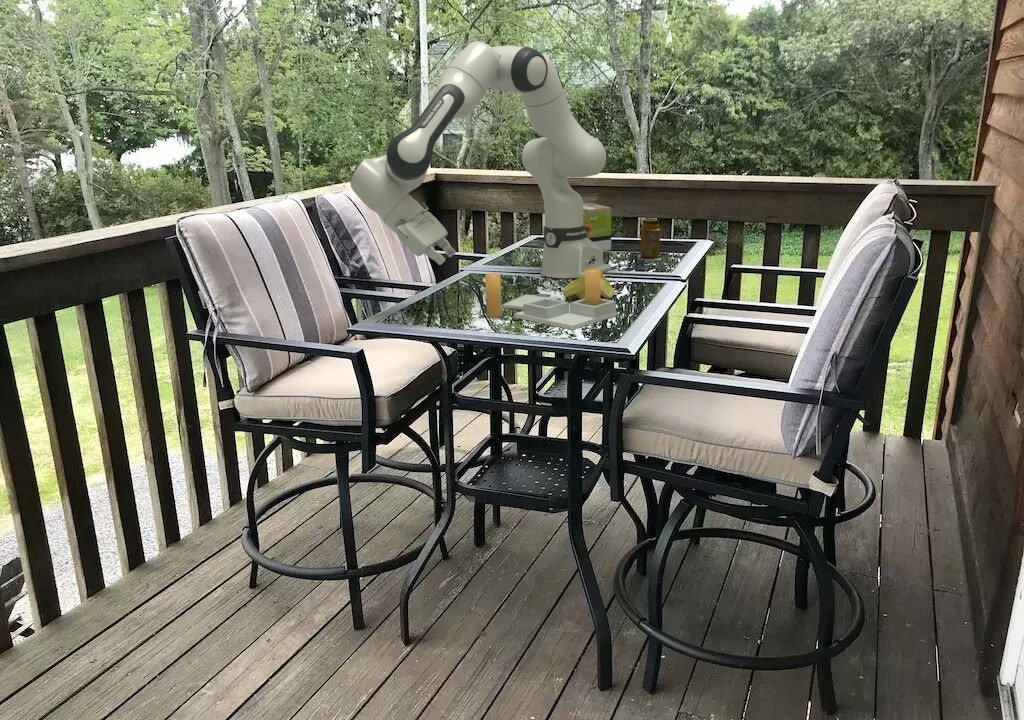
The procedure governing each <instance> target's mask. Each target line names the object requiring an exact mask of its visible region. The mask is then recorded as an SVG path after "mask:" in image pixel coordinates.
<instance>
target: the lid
mask: <svg viewBox="0 0 1024 720" xmlns="http://www.w3.org/2000/svg"><path fill="white" fill-rule="evenodd" d="M543 298H548V299H554V300H559V301H561V297H556V296H551V294H549V293H548V294H547V293H539V294H536V295H535V294H527V293H526V294H524V295H521V296H519V297H517V298H514V299H512V300H509V301H508V302H504V303H503V304H501V305H502V308H503V309H511V310H512V309H513V310H520V311H523V304H525V303H528V302H532V301H536V300H539V299H543Z"/></svg>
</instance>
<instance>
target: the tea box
mask: <svg viewBox="0 0 1024 720" xmlns="http://www.w3.org/2000/svg"><path fill="white" fill-rule="evenodd" d="M583 225H584V226H586V225H588V226H592V227H593V229H592V230H593V232H587V235H588V237H587V238H589V239H590V240H591V241H592V242H593V243H594V244H596V245H597V246H598V247H599V248H600V249H601V250H602V252H606V251H611V250H612V207H610V206H605V205H601V204H597V203H592V202H583Z"/></svg>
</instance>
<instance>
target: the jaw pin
mask: <svg viewBox="0 0 1024 720" xmlns="http://www.w3.org/2000/svg"><path fill="white" fill-rule="evenodd" d="M484 276H485V277H484V279H485V299H486V300H485V301H486V302H485V303H486V317H487V318H491V319H496V318H501V317H502V316H503V313H502V312H503V311H502V308H503V306H502V305H503V304H502V286H501V285H502V284H501V281H502V280H501V274H500V273H494V272H493V273H487V274H485V275H484Z"/></svg>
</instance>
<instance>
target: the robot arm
mask: <svg viewBox="0 0 1024 720" xmlns="http://www.w3.org/2000/svg"><path fill="white" fill-rule="evenodd" d="M489 90H495V91H498V92H505V93H509V92H511V93H512V92H514V93H515V92H520V95H521V98H522V102H523V104H524V108H525V109H526V114H527V115H528V120H529V122H530V124H531V127H532V128H533V130H534V131H535V132H536V133H537V134H539V135H541V136H542V137H539V138H535V139H534V138H533V139H531V140H529V141H527V142H526V144H525V145H524V146H523V149H522V152H521V160H522V161H521V162H522V165H523V167H524V170H525V171H527V173H529V174H530V175H531V176H532V177H533V179H534V180H535V182H536V183H537V185H538V187H539V190H540V191H541V195H542V199H543V208H544V209H543V210H544V226H543V239H544V243H543V250H542V261H541V266H540V268H539V269H540V270H541V271H540V276H542V275H543V277H545V276H546V278H551V277H552V278H553V279H578V278H580V277H582V276H585V270H587V269H599V270H601V272H602V273H604V272H608V271H610V270H612V265H610V264H607V263H604V254H603V251H602V250H601V249H600V248H599V247H598V246H597V245H596V244H594V243H593V242H592V241H591V240H590V239H589V238H587V237H588V235H587V232H593V230H592V229H593V227H592V226H588V225H586V226H584V225H583V203H584V200H583V198H582V196H581V194H580V193H578V192H577V191H575V190H574V189H573V188H572V186H571V185H570V183H569V182H568V181H569V180H568V178H587V177H591V176H592V177H593V176H596V175H599V174H600V173H601V172H602V171H603V169H604V168H605V165H606V162H607V152H606V148H605V146H604V145H603V143H602V141H600V140H599V139H597V138H596V137H593V136H592V135H591V134H589V132H587V131H586V130H585V129H584V128H583V127H582V126H581V125H580V124H579V123H578V121H577V120H576V118H575V117H574V115H573V114H572V111H571V108H570V106H569V103H568V100H567V98H566V94H565V91H564V87H563V86H562V81H561V79H560V76H559V75H558V73H557V70H556V68H555V65H554V64H553V62H552V61H551V59H550V58H549V56H547V55H546V54H544V53H542V52H540V51H539V50H537V49H535V48H533V47H529V46H525V47H524V46H519V45H511V44H510V45H508V44H507V45H497V46H495V45H489V44H488V43H486V42H483V41H473V42H470V43H469V44H468V45H467V46H465V47H464V48H463V49H462V50H461V51H460V52H459V53H458V54H457V55H456V56H455V57H454V59H453V60H452V61H451V62H450V63H449V65H448V66H447V68H446V69H445V71H443V73H442V75H441V77H440V78H439V81H438V83H437V85H436V87H435V89H434V92H433V95H432V98H431V101H430V102H429V103H428V104H427V106H426V108H425V109H424V110H423V111H422V113H421V114H420V116H419V117H418V118H417V120H416V121H415V122H414V123H413V124H412V125H410V127H408V128H407V129H405V130H404V131H402V132H400V133H398V134H396V135H395V136H394V137H393V138H392V139H391V141H390V142H389V144H388V145H387V149H386V154H384V155H382V156H377V157H373V158H366V157H365V158H364V159H362V160H361V161H360V162H359V163H358V164H357V165H356V167H355V168H354V170H353V172H352V174H351V176H350V179H349V180H350V181H349V183H350V187H351V189H352V191H353V192H354V193H355V195H356V196H357V198H359V200H360V201H361V202H362V203H363V204H364V205H365V206H366V207H367V208H369V210H371V211H373V212H375V214H377V215H378V216H379V218H380V219H381V221H382V222H383V223H384V224H385V225H386V226H387V227H388V228H389V229H390V231H393V233H394V234H395V235H396V236H397V237H398V239H399V240H400V241H401V242H402V244H403V245H405V247H406V248H407V249H408V250H409V251H410V252H411V253H412V254H414V255H415V256H417V257H421V256H422V255H425V256H427V258H430V259H431V260H433V261H434V262H436V264H438V265H439V266H441V265H443V263H445V262H446V260H447V259H446V257H445V256H444V255H443V254H442V253H439V252H437V251H436V250H435V247H436V246H438V247H439V248H441V249H442V250H443V251H444V252H445V253H444V254H445V255H446V256H448V257H449V258H452V257H453V256H454V255H455V254H456V250H455V249H454V248H453V247H452V246H451V244H450V242H449V241H448V240H447V238H446V237H447V236H448V234H449V233H448V231H447V229H446V227H444V225H443V224H442V223H441V222H440V221H439V220H438V218H436V217H435V216H434V215H433V213H431V212H430V211H428V210H429V207H428V206H427V205H426V204H425V203H424V202H420V201H417V200H416V199H414V198H413V197H412V196H411V195H410V194H409V193H412V191H414V190H415V189H417V188H418V187H420V186H421V184H423V182H424V181H425V178H426V176H427V172H428V169H429V167H430V166H431V163H432V160H433V155H434V154H433V153H434V147H435V144H436V142H437V141H438V140H439V139H440V137H441V135H443V133H444V132H445V130H446V129H447V127H448V126H449V125H450V123H451V122H452V121H453V120H455V119H464V118H467V117H468V116H469V115H471V113H472V112H473V111H474V110H475V109H476V108H477V107H478V105H479V104H480V103H481V102H482V101H483V99H484V97H485V96H486V94H487V93H488V91H489Z"/></svg>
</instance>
